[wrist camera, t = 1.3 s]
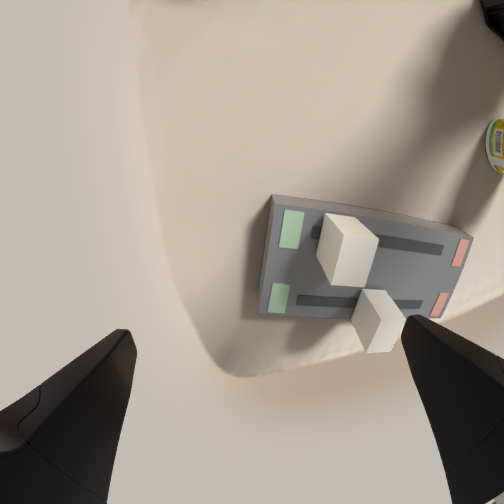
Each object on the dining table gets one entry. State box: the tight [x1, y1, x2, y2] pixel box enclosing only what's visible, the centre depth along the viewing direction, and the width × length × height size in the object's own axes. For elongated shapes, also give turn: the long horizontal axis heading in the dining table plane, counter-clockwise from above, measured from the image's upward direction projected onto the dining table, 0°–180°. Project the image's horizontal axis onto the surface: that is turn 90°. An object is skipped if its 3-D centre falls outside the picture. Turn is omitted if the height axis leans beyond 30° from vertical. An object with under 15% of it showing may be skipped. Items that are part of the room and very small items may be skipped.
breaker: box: [316, 213, 379, 287], centre depth 15 cm, size 2×3×4 cm
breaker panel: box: [258, 194, 473, 319], centre depth 19 cm, size 17×8×3 cm, turn 84°
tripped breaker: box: [351, 289, 406, 353], centre depth 17 cm, size 2×3×4 cm
